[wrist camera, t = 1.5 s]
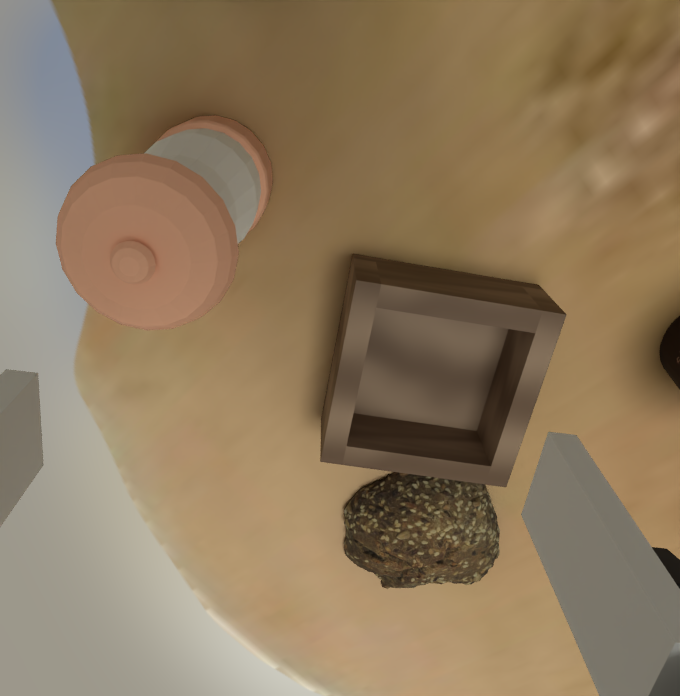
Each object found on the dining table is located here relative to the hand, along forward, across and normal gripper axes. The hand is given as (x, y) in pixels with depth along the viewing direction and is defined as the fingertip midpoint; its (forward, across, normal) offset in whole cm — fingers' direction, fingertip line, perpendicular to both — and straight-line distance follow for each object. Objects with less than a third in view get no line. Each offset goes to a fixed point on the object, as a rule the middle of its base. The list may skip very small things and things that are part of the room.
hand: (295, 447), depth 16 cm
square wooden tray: (+27, +9, -9) cm, 30 cm away
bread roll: (+28, +12, -24) cm, 39 cm away
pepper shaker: (+27, -6, +2) cm, 28 cm away
